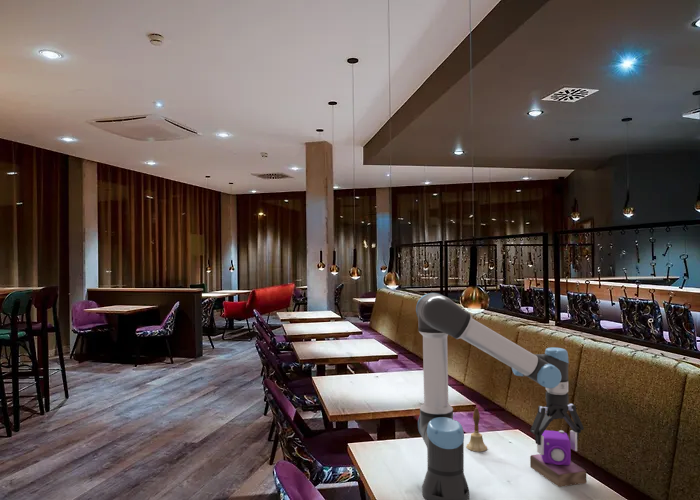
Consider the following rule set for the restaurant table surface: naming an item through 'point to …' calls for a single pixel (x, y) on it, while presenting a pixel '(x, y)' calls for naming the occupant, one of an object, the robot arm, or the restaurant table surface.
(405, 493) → the restaurant table surface
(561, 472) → the walnut step
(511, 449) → the restaurant table surface
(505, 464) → the restaurant table surface
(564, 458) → the toy camera
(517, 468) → the restaurant table surface
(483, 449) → the hand bell
